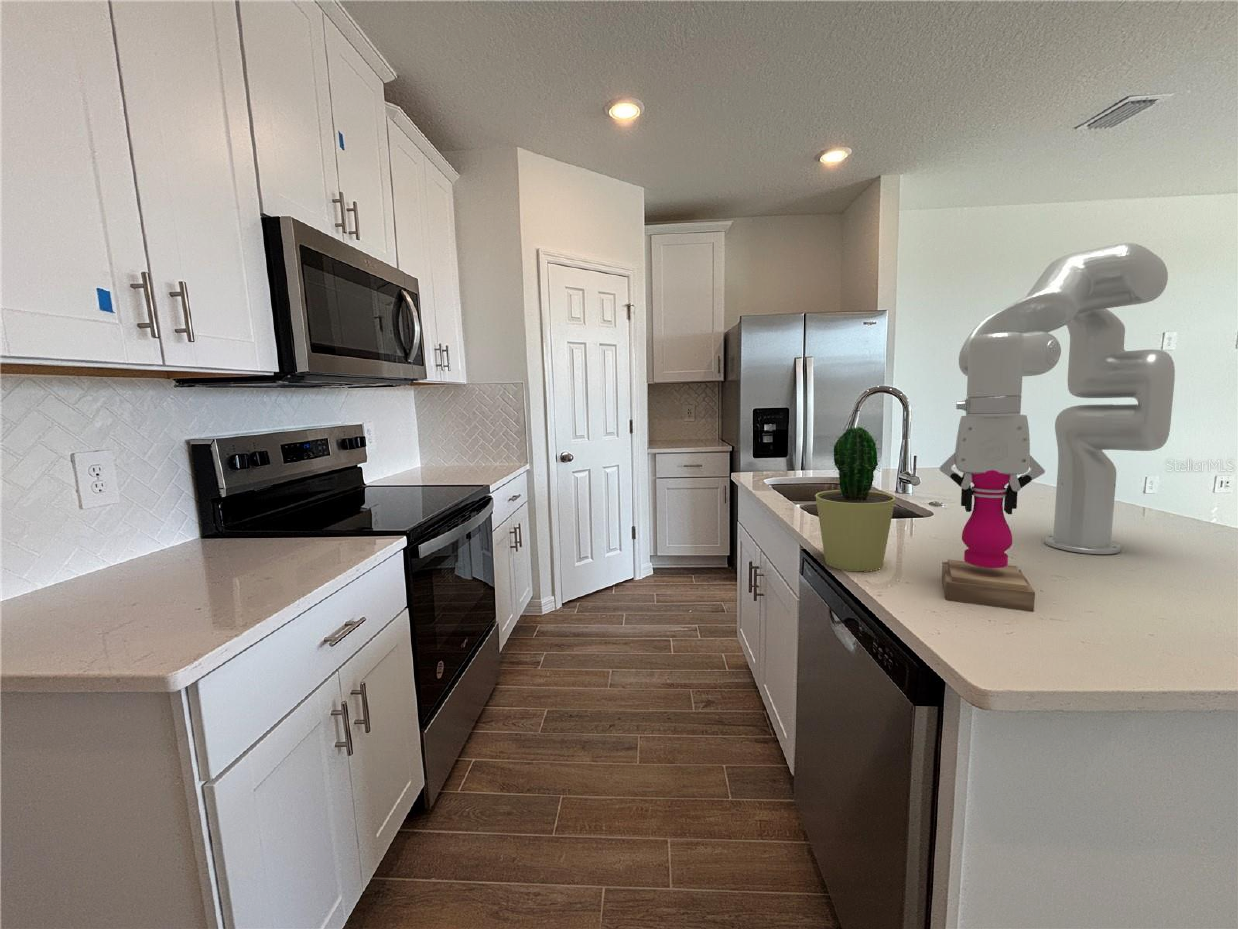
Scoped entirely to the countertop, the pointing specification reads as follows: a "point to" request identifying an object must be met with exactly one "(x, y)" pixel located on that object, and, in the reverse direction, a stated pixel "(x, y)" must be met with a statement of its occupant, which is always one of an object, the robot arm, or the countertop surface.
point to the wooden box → (987, 585)
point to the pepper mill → (987, 522)
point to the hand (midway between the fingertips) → (987, 510)
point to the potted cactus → (855, 507)
